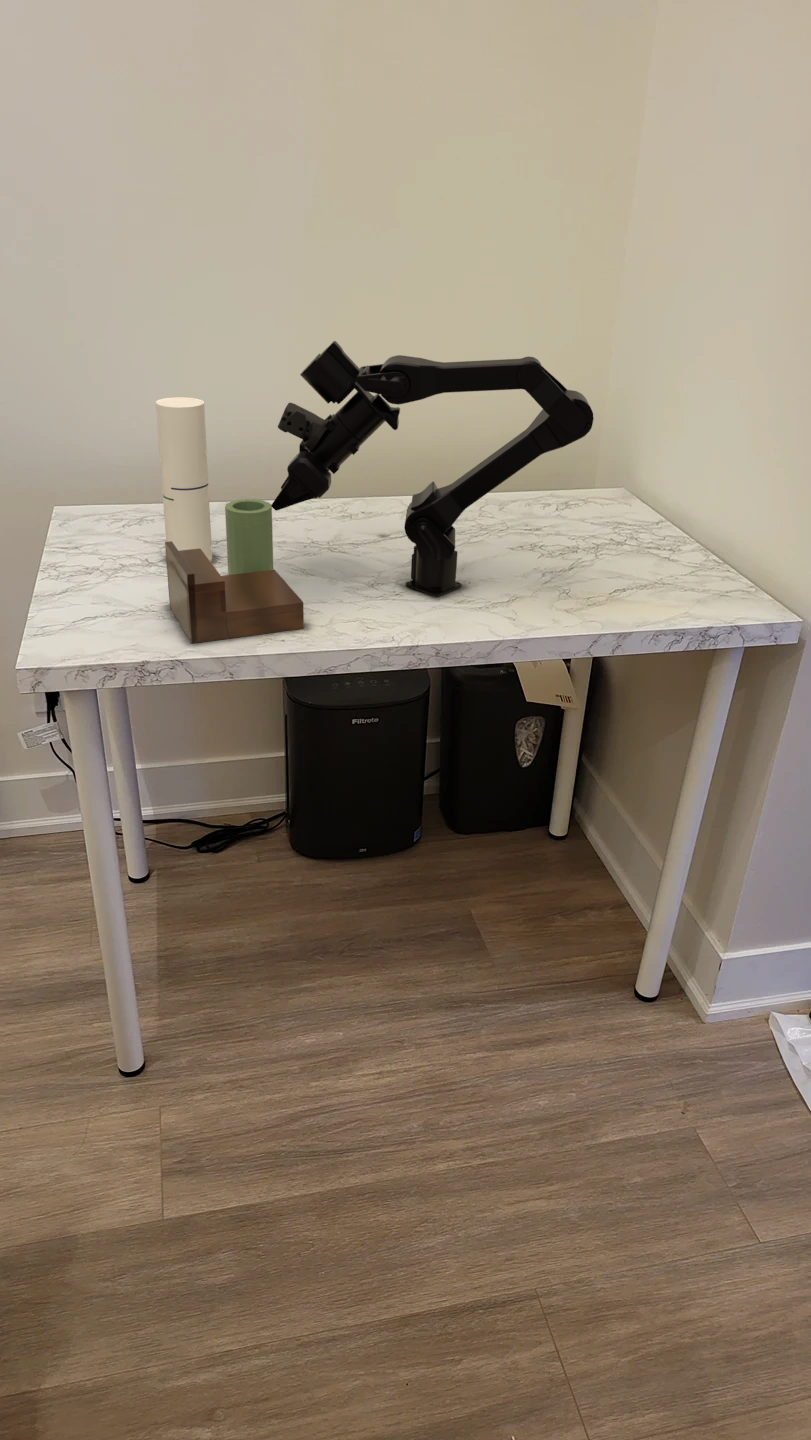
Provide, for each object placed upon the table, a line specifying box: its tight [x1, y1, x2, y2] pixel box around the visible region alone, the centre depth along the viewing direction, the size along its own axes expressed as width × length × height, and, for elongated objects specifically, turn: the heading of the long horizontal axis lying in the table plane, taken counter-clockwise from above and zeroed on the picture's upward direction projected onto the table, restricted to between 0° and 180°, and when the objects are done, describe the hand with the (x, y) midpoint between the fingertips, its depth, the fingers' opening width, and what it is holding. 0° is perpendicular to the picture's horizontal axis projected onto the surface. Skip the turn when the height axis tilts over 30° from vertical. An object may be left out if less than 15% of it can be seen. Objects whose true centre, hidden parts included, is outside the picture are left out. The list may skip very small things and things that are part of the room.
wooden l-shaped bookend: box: [164, 541, 305, 644], centre depth 146 cm, size 16×13×10 cm
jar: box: [224, 498, 274, 575], centre depth 156 cm, size 7×7×12 cm
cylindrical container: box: [155, 396, 213, 563], centre depth 162 cm, size 7×7×25 cm
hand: (278, 498), depth 156 cm, fingers open, 9 cm apart
